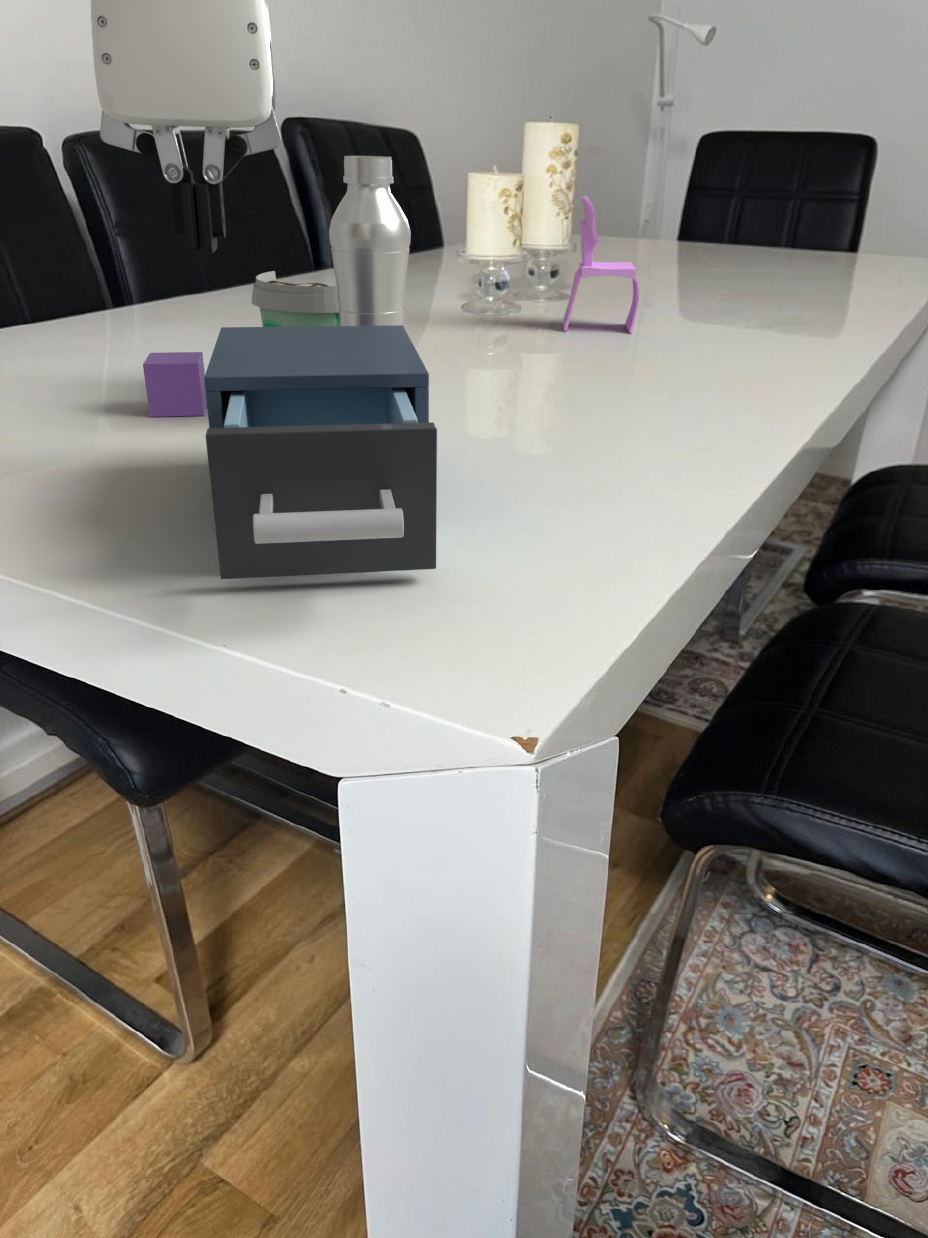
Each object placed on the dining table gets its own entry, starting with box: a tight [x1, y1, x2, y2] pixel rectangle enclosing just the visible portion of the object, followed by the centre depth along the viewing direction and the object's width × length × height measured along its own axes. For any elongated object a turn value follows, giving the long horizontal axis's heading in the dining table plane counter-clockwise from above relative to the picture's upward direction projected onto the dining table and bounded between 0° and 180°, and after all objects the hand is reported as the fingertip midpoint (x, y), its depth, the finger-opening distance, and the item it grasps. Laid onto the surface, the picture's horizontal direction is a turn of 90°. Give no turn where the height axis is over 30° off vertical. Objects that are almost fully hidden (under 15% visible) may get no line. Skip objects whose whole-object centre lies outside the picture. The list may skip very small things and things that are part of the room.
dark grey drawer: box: [205, 387, 438, 580], centre depth 53 cm, size 18×11×8 cm, turn 9°
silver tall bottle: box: [328, 155, 412, 327], centre depth 77 cm, size 6×7×20 cm
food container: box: [251, 270, 339, 327], centre depth 85 cm, size 12×6×10 cm, turn 55°
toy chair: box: [562, 195, 640, 334], centre depth 116 cm, size 8×9×15 cm
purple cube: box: [142, 351, 207, 418], centre depth 82 cm, size 4×4×4 cm
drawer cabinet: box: [204, 325, 430, 428], centre depth 63 cm, size 15×13×10 cm
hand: (202, 249), depth 62 cm, fingers closed
